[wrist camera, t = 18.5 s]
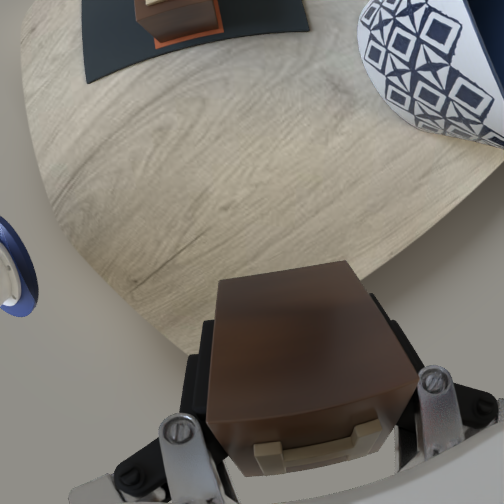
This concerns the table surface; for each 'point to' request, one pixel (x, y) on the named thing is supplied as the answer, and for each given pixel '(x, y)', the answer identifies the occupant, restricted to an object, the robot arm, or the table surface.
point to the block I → (303, 370)
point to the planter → (438, 64)
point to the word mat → (146, 46)
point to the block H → (175, 17)
